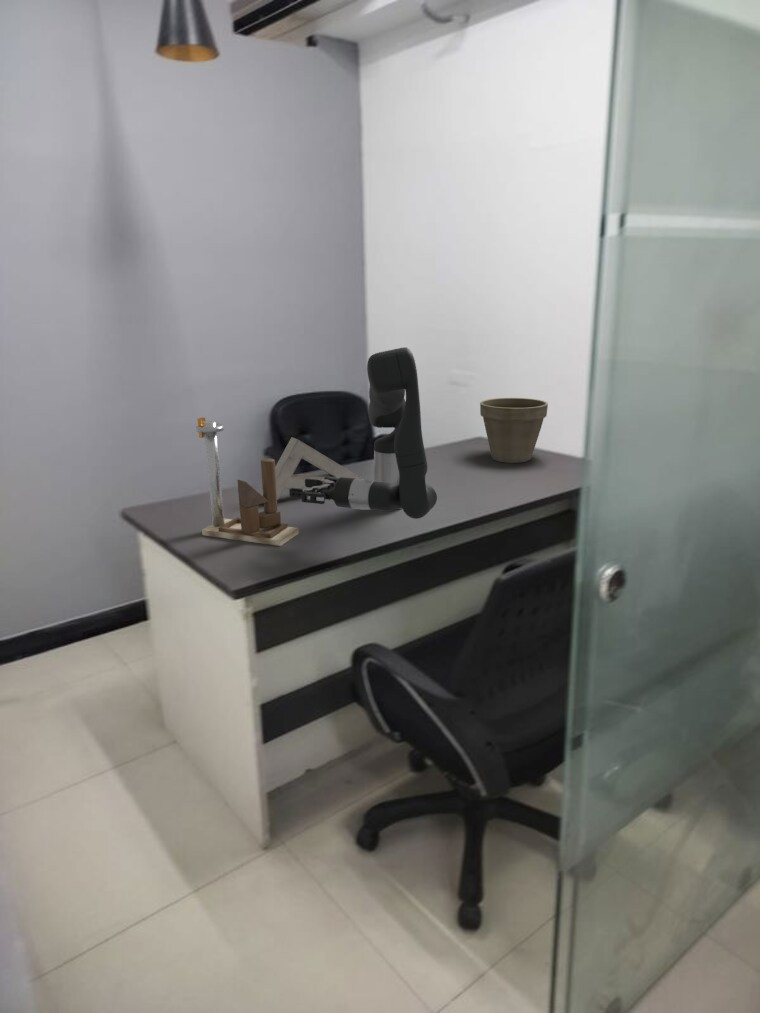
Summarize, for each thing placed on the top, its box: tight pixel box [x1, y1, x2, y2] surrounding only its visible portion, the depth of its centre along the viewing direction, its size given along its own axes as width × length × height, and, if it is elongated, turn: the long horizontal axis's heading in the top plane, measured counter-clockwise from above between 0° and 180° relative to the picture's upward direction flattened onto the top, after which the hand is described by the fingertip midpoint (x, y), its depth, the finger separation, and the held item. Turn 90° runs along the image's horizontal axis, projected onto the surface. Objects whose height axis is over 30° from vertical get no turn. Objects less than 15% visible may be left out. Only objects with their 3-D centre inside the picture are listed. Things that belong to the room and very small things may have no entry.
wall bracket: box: [260, 436, 363, 505], centre depth 218 cm, size 22×4×30 cm
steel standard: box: [196, 417, 225, 527], centre depth 183 cm, size 7×7×31 cm
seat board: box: [201, 517, 300, 547], centre depth 184 cm, size 24×10×2 cm, turn 69°
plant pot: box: [479, 397, 549, 464], centre depth 257 cm, size 25×25×22 cm
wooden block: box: [237, 457, 282, 534], centre depth 180 cm, size 4×11×18 cm, turn 138°
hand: (298, 487), depth 175 cm, fingers open, 8 cm apart
